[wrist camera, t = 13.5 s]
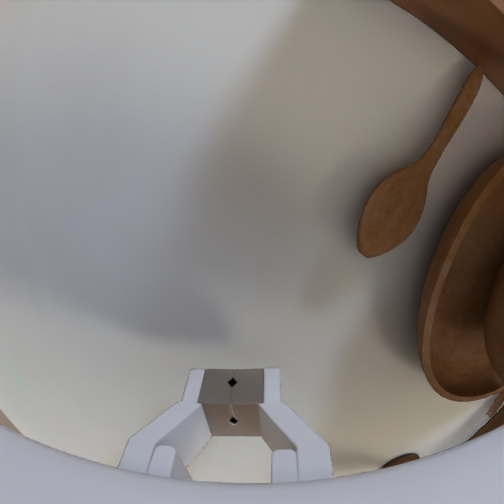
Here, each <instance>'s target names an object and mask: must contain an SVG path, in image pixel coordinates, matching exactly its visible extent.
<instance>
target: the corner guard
mask: <svg viewBox="0 0 504 504" xmlns="http://www.w3.org/2000/svg"><path fill="white" fill-rule="evenodd" d="M392 1H393V2H395V3H396V4H398V5H400V6H401V7H403V8H404V9H406V10H407V11H409V12H410V13H412V14H413V15H415V16H416V17H417V18H419V19H420V20H422V21H423V22H424V23H426V24H427V25H429V26H430V27H431V28H433V29H434V30H435V31H436V32H438V33H439V34H440V35H442V36H443V37H444V38H445V39H447V40H448V41H449V42H450V43H451V44H453V45H454V46H455V47H456V48H457V49H458V50H460V51H461V52H462V53H463V54H464V55H465V56H466V57H467V58H468V59H470V60H471V61H472V62H473V63H474V64H475V65H476V66H478V65H480V66H481V67H482V68H483V69H484V74H485V75H486V76H487V77H488V78H489V79H490V80H491V81H492V82H493V83H494V84H495V85H496V86H497V88H498V89H499V90H500V91H501V92H502V93H503V94H504V0H392ZM502 425H504V407H503V408H502V409H501V410H500V411H499V412H498V413H497V414H496V415H495V416H494V417H493V418H492V419H491V420H490V421H489V422H488V423H487V424H486V425H485V426H484V427H483V428H482V429H481V430H480V431H478V432H477V433H476V434H475V435H474V436H473V437H472V438H471V439H470V440H472V439H474V438H477V437H479V436H481V435H483V434H485V433H488V432H490V431H492V430H494V429H496V428H498V427H500V426H502ZM470 440H469V441H470Z"/></svg>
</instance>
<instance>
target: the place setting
mask: <svg viewBox="0 0 504 504" xmlns="http://www.w3.org/2000/svg"><path fill="white" fill-rule="evenodd" d="M483 74H484V69H483V68H482V67H481V66H480V65H478V66H477V67H476V68H475V69H474V70H473V71H472V72H471V74H470V75H469V76H468V78H467V80H466V81H465V83H464V85H463V87H462V89H461V90H460V92H459V94H458V96H457V98H456V100H455V102H454V104H453V106H452V108H451V110H450V112H449V114H448V116H447V117H446V119H445V121H444V123H443V125H442V127H441V128H440V130H439V132H438V134H437V135H436V137H435V139H434V140H433V142H432V143H431V145H430V146H429V148H428V149H427V151H426V152H425V153H424V155H423V156H422V157H421V158H420V159H419V160H418V161H417V162H415V163H414V164H412V165H410V166H407V167H405V168H402V169H400V170H397V171H396V172H394V173H392V174H391V175H389V176H388V177H386V178H385V179H384V180H383V181H381V183H380V184H379V185H378V186H377V187H376V188H375V189H374V190H373V192H372V193H371V195H370V196H369V198H368V200H367V202H366V204H365V206H364V209H363V211H362V214H361V218H360V221H359V225H358V230H357V248H358V251H359V252H360V253H361V254H362V255H363V256H365V257H367V258H371V257H375V256H379V255H381V254H384V253H386V252H388V251H390V250H392V249H393V248H395V247H396V246H398V245H399V244H401V243H402V242H403V241H404V240H405V239H406V238H407V237H408V236H409V235H410V234H411V233H412V232H413V230H414V229H415V227H416V226H417V224H418V222H419V220H420V217H421V215H422V212H423V209H424V205H425V201H426V195H427V187H428V182H429V179H430V175H431V173H432V171H433V169H434V167H435V165H436V163H437V161H438V160H439V158H440V156H441V154H442V153H443V151H444V149H445V148H446V146H447V145H448V143H449V141H450V140H451V138H452V137H453V135H454V133H455V132H456V130H457V128H458V127H459V125H460V123H461V122H462V120H463V119H464V117H465V115H466V113H467V112H468V110H469V108H470V106H471V105H472V103H473V101H474V99H475V97H476V95H477V93H478V91H479V88H480V85H481V82H482V79H483ZM417 343H418V353H419V357H420V362H421V366H422V369H423V371H424V373H425V375H426V378H427V380H428V382H429V384H430V385H431V386H432V388H433V389H434V390H435V391H436V392H437V393H438V394H439V395H441V396H442V397H444V398H447V399H449V400H453V401H458V402H467V401H474V400H479V399H482V398H486V397H489V396H491V395H493V394H495V393H498V392H500V391H501V390H502V391H501V393H500V394H499V396H498V397H497V399H496V400H495V402H494V403H493V404H492V406H491V407H490V409H489V410H488V412H487V414H488V413H489V414H490V413H491V412H492V413H493V412H494V413H493V414H492V413H491V414H490V416H491V415H492V416H493V415H494V414H495V412H496V411H497V410H498V408H499V407H500V406H501V404H502V403H503V401H504V392H503V391H504V156H502V157H501V158H499V159H498V160H497V161H496V162H494V163H493V164H492V165H491V166H490V167H488V168H487V169H486V170H485V171H484V172H483V174H482V175H481V176H480V177H479V178H478V179H477V180H476V181H475V182H474V184H473V185H472V186H471V188H470V189H469V190H468V192H467V193H466V194H465V196H464V197H463V199H462V200H461V202H460V204H459V205H458V207H457V208H456V210H455V212H454V213H453V215H452V217H451V219H450V221H449V223H448V225H447V227H446V229H445V231H444V232H443V234H442V237H441V239H440V241H439V244H438V246H437V248H436V251H435V253H434V255H433V258H432V261H431V264H430V267H429V270H428V273H427V276H426V280H425V284H424V288H423V292H422V295H421V301H420V307H419V313H418V325H417ZM501 394H502V395H501ZM502 396H503V397H502ZM499 397H500V398H499ZM497 400H498V401H497ZM500 402H501V403H500ZM494 404H495V405H494ZM498 405H499V406H498ZM495 406H496V407H495ZM492 407H493V408H492ZM496 408H497V409H496ZM493 409H494V410H493ZM495 409H496V410H495ZM490 410H491V411H490ZM492 410H493V411H492ZM489 411H490V412H489ZM487 414H486V415H487ZM489 414H488V415H489ZM490 416H489V417H490ZM492 416H491V417H492ZM417 459H420V457H419V455H417V454H409V455H405V456H402V457H399V458H397V459H394V460H393V461H391V462H389V463H388V464H386V465H385V466H384V467H383V468H387V467H391V466H395V465H399V464H403V463H406V462H410V461H413V460H417Z"/></svg>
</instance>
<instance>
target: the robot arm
mask: <svg viewBox="0 0 504 504" xmlns="http://www.w3.org/2000/svg"><path fill="white" fill-rule="evenodd" d="M212 436H262V438H263V439H264V441H265V442H266V444H267V445H268V446H269V448H270V449H271V450H272V452H273V453H272V459H271V483H221V482H206V481H194V480H192V478H191V476H190V475H189V473H188V471H187V469H186V468H185V467H186V466H187V465H188V463H189V462H190V461H191V460H192V459H193V458H194V457H195V456H196V455H197V454H198V453H199V451H200V450H201V449H202V448H203V447H204V446H205V445H206V444H207V442H208V441H209V440H210V439H211V438H212ZM0 504H504V425H502V426H500V427H498V428H496V429H494V430H492V431H490V432H488V433H485V434H483V435H481V436H479V437H477V438H474V439H472V440H470V441H467V442H465V443H462V444H460V445H457V446H455V447H452V448H449V449H447V450H444V451H441V452H438V453H435V454H432V455H429V456H426V457H423V458H420V459H417V460H413V461H410V462H406V463H403V464H399V465H395V466H391V467H387V468H383V469H378V470H374V471H369V472H364V473H359V474H354V475H348V476H341V477H335V478H334V474H333V468H332V461H331V455H330V449H329V444H328V443H327V442H326V441H325V440H324V439H323V438H321V437H320V436H319V435H318V434H317V433H316V432H315V431H314V430H313V429H312V428H311V427H310V426H309V425H308V424H307V423H306V422H305V421H304V420H303V419H302V418H301V417H300V416H299V415H298V414H297V413H296V412H295V411H294V410H293V409H292V408H291V407H290V406H289V405H288V404H287V403H281V385H280V369H279V367H275V368H261V369H235V370H229V369H192V370H191V371H190V373H189V376H188V379H187V383H186V386H185V390H184V393H183V396H182V400H181V402H176V403H175V404H174V405H172V406H171V407H170V408H169V409H167V410H166V411H165V412H163V413H162V414H161V415H160V416H158V417H157V418H156V419H154V420H153V421H152V422H150V423H149V424H148V425H146V426H145V427H144V428H142V429H141V430H140V431H138V432H137V433H136V434H134V435H133V436H132V437H130V438H129V439H128V442H127V444H126V447H125V449H124V452H123V455H122V457H121V460H120V463H119V465H118V468H117V467H113V466H109V465H105V464H102V463H98V462H94V461H91V460H88V459H84V458H81V457H78V456H75V455H72V454H69V453H66V452H63V451H60V450H58V449H55V448H52V447H50V446H47V445H45V444H42V443H40V442H37V441H35V440H32V439H30V438H28V437H26V436H23V435H21V434H19V433H17V432H15V431H13V430H11V429H9V428H7V427H4V426H3V425H1V424H0Z"/></svg>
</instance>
